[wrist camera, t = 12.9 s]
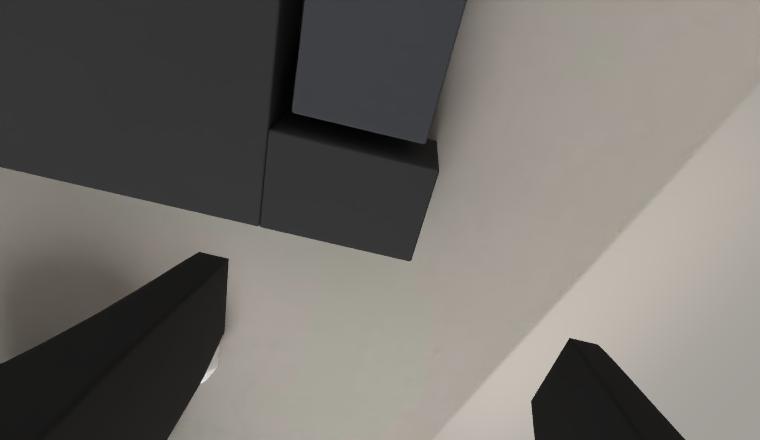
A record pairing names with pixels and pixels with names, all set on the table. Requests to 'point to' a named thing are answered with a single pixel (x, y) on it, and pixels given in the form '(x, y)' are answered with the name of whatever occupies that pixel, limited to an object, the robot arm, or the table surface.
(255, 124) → the base pad
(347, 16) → the small block
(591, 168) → the table surface
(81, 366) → the robot arm
